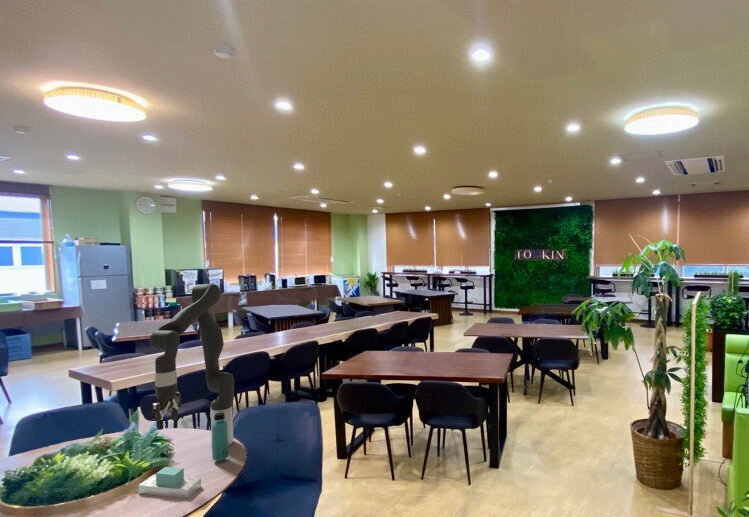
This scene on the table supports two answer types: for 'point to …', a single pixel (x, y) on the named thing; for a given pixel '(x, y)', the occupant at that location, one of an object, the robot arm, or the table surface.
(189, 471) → the table surface
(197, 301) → the robot arm
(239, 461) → the table surface
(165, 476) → the clip
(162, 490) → the pale grey flat slab
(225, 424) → the beverage bottle
